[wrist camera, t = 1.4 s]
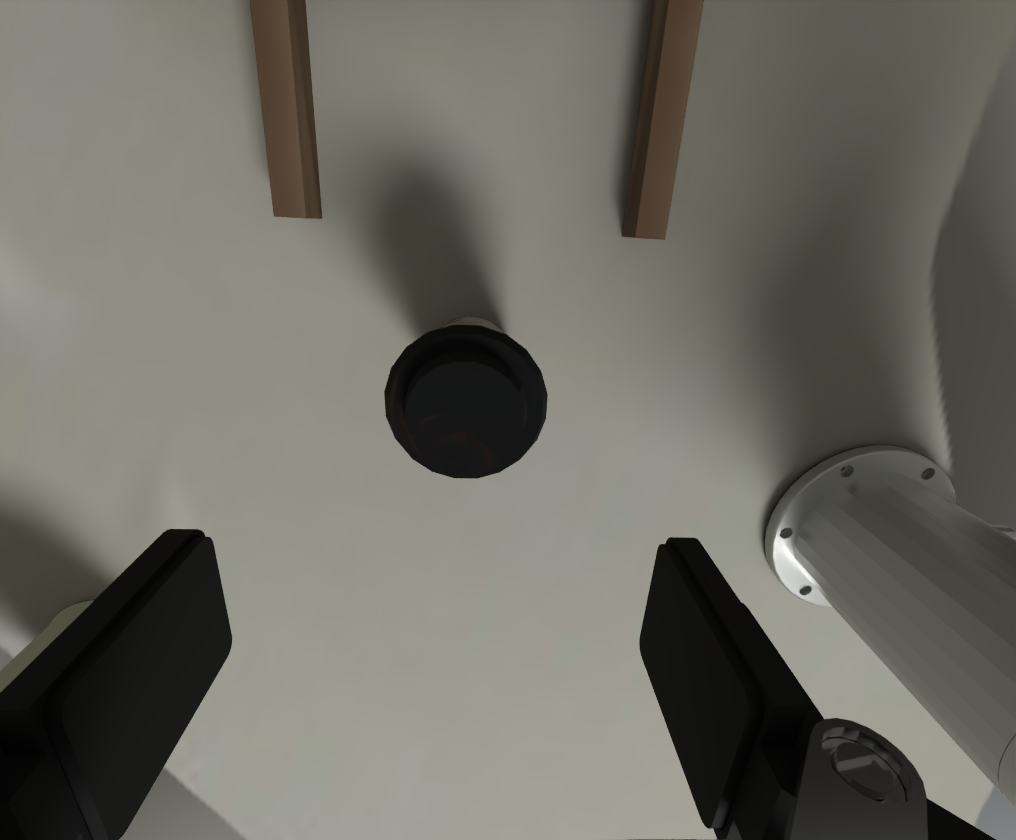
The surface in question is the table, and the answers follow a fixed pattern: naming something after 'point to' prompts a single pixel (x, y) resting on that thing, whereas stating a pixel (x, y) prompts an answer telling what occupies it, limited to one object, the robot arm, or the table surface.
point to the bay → (294, 125)
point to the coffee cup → (466, 399)
